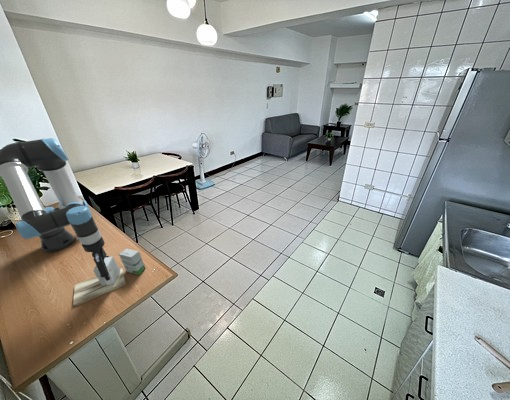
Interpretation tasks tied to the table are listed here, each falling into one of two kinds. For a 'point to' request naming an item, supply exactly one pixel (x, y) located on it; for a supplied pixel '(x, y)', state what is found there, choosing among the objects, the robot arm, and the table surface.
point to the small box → (111, 268)
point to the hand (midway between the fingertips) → (109, 276)
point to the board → (95, 288)
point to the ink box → (132, 261)
